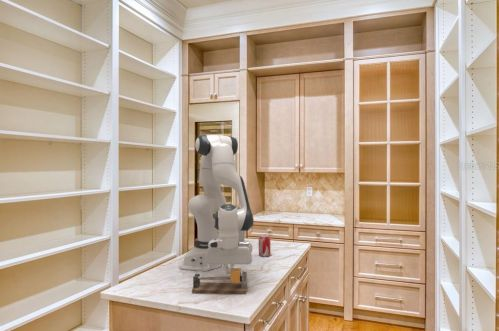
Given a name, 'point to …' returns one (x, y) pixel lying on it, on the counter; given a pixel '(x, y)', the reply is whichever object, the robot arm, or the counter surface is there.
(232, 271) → the notched orange cube
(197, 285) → the cord board
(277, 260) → the counter surface
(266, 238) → the soda can
